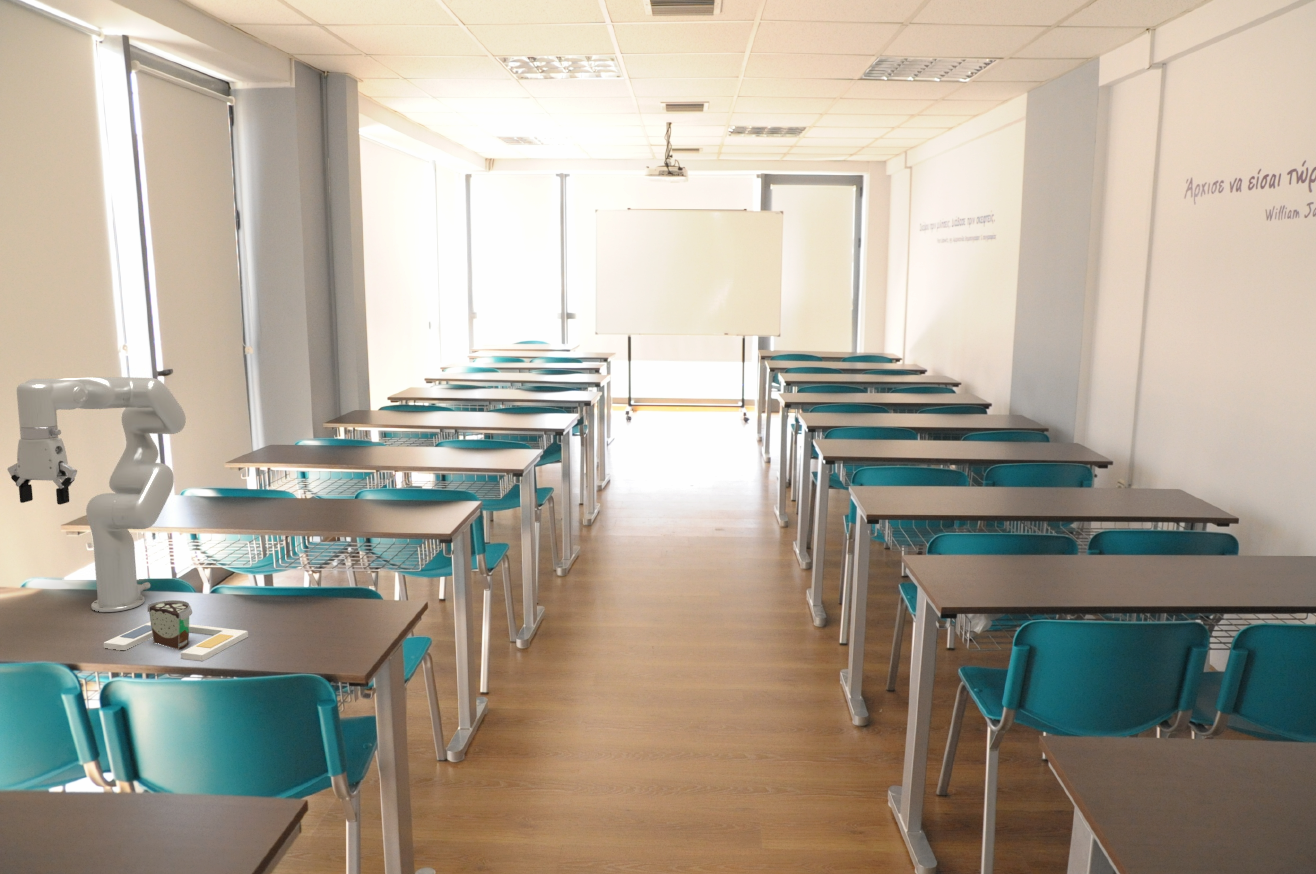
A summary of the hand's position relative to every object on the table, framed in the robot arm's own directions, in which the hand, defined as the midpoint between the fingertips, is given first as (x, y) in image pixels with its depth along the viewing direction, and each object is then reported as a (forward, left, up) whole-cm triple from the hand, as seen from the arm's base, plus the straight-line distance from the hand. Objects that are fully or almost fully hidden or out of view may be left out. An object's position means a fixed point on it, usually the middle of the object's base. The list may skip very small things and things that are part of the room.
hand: (44, 502), depth 215 cm
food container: (-5, +31, -35) cm, 47 cm away
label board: (-5, +31, -35) cm, 47 cm away
